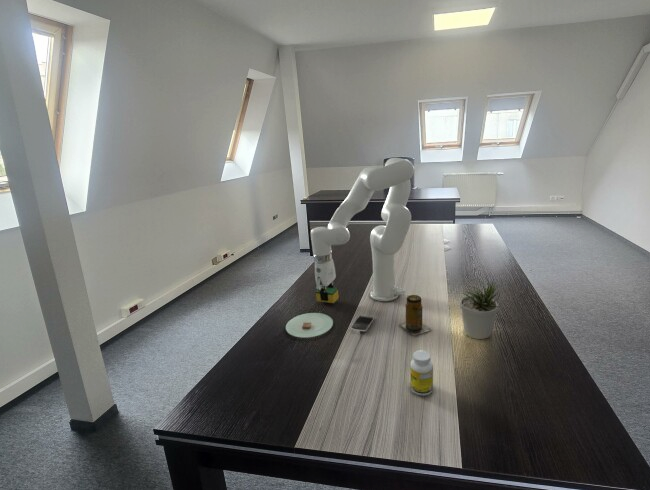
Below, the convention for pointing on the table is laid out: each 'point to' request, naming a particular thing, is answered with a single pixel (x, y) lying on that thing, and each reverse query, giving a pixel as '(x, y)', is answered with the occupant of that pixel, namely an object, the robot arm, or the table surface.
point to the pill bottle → (421, 373)
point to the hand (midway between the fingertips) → (327, 296)
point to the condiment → (414, 316)
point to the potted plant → (479, 312)
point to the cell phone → (362, 323)
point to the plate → (318, 325)
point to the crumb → (306, 326)
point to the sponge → (329, 295)
